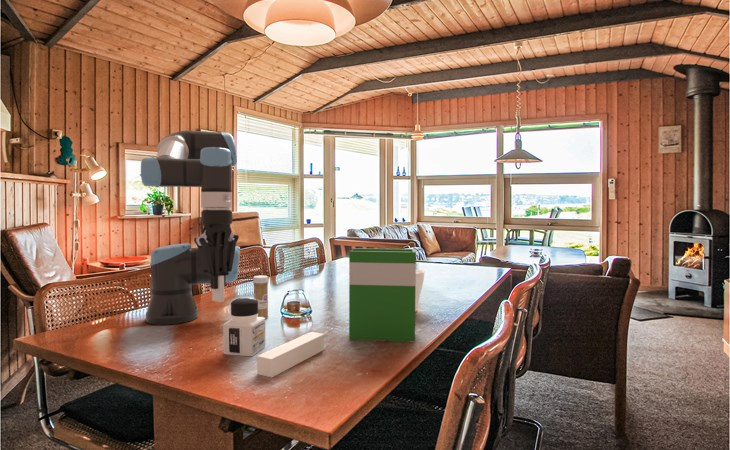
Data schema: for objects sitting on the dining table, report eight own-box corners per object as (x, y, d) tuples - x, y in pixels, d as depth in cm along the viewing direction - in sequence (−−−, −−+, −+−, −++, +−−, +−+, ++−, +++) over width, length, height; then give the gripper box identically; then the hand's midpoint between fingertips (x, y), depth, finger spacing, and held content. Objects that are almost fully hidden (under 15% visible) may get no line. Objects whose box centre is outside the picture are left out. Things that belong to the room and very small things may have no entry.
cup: (423, 307, 157) (423, 269, 156) (424, 314, 146) (424, 274, 145) (393, 306, 158) (393, 268, 157) (392, 313, 147) (392, 273, 146)
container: (252, 357, 107) (251, 303, 106) (223, 354, 108) (222, 301, 108) (266, 346, 114) (265, 296, 114) (238, 344, 116) (237, 295, 115)
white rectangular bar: (257, 374, 96) (257, 355, 96) (311, 347, 114) (311, 331, 114) (271, 377, 95) (271, 359, 94) (324, 349, 112) (324, 334, 112)
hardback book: (349, 339, 120) (349, 251, 119) (352, 331, 128) (352, 248, 126) (414, 341, 119) (415, 252, 117) (414, 333, 126) (415, 249, 125)
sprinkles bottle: (263, 320, 139) (263, 277, 138) (250, 319, 140) (250, 277, 139) (271, 317, 143) (270, 275, 142) (258, 315, 144) (258, 274, 144)
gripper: (207, 209, 106) (208, 307, 107) (246, 208, 118) (247, 297, 119) (185, 209, 110) (187, 304, 111) (225, 208, 121) (226, 294, 122)
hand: (218, 300), depth 115 cm, fingers closed
